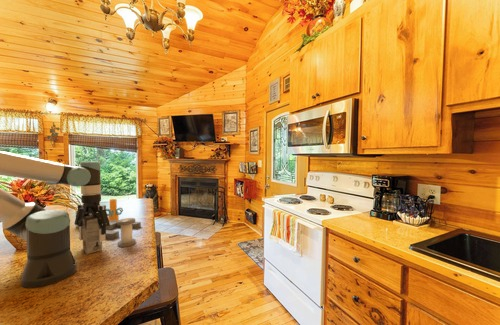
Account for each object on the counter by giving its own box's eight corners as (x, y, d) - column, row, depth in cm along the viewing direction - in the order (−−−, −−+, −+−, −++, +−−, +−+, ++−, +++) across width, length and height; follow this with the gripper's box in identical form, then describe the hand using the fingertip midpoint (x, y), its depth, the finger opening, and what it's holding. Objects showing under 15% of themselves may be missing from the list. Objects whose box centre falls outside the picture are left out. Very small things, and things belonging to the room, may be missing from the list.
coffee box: (82, 248, 103) (81, 215, 103) (98, 244, 108) (97, 212, 107) (86, 254, 97) (85, 219, 96) (103, 250, 101) (102, 216, 101)
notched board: (112, 239, 115) (112, 233, 115) (79, 236, 119) (79, 230, 119) (140, 226, 135) (140, 222, 135) (111, 224, 140) (111, 220, 140)
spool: (127, 247, 104) (127, 223, 104) (113, 246, 106) (113, 222, 105) (139, 241, 112) (139, 218, 111) (126, 240, 113) (125, 217, 113)
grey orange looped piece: (106, 225, 139) (105, 202, 139) (100, 222, 146) (99, 200, 145) (126, 220, 149) (125, 199, 149) (119, 217, 155) (119, 197, 155)
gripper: (118, 193, 103) (119, 239, 103) (79, 191, 108) (80, 235, 108) (104, 196, 95) (105, 245, 96) (63, 194, 100) (65, 241, 101)
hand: (92, 240), depth 102 cm, fingers closed on coffee box, 10 cm apart
